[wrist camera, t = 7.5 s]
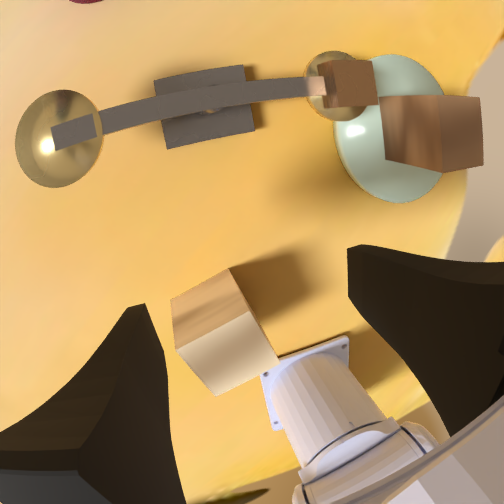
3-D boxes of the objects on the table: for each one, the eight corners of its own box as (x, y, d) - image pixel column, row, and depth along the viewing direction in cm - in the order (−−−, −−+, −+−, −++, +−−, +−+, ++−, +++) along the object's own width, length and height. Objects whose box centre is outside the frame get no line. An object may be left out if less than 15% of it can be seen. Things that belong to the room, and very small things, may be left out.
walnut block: (428, 153, 21) (483, 165, 16) (385, 159, 20) (442, 173, 15) (422, 96, 19) (479, 97, 14) (378, 96, 18) (436, 94, 13)
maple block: (255, 315, 23) (280, 363, 18) (202, 343, 23) (215, 396, 18) (228, 267, 21) (249, 310, 16) (170, 299, 21) (175, 350, 16)
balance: (342, 118, 19) (405, 120, 14) (66, 178, 16) (25, 201, 11) (333, 61, 18) (394, 43, 12) (52, 115, 15) (4, 110, 9)
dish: (445, 188, 24) (453, 191, 23) (341, 213, 22) (349, 216, 21) (435, 61, 19) (444, 61, 18) (320, 54, 17) (328, 51, 17)
